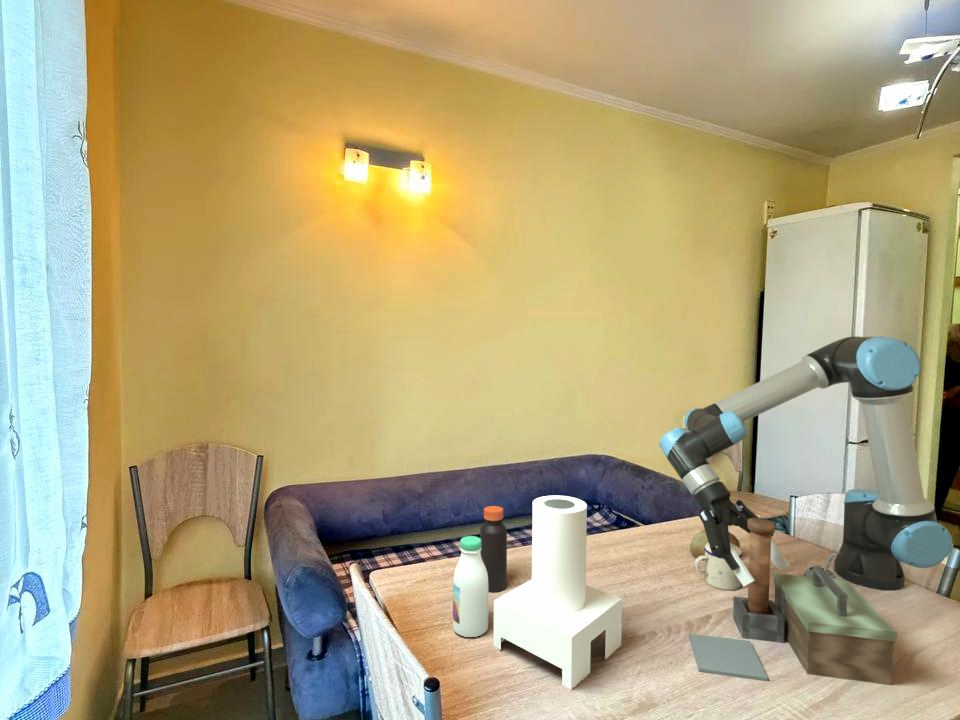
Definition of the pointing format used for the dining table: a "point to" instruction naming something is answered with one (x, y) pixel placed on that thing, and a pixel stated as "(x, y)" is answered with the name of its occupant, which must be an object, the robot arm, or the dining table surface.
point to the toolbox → (824, 627)
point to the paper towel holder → (559, 595)
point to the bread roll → (702, 540)
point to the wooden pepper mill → (759, 564)
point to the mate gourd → (810, 570)
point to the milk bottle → (470, 590)
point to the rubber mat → (726, 657)
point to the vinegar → (494, 548)
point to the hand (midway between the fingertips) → (767, 575)
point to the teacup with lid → (719, 569)
